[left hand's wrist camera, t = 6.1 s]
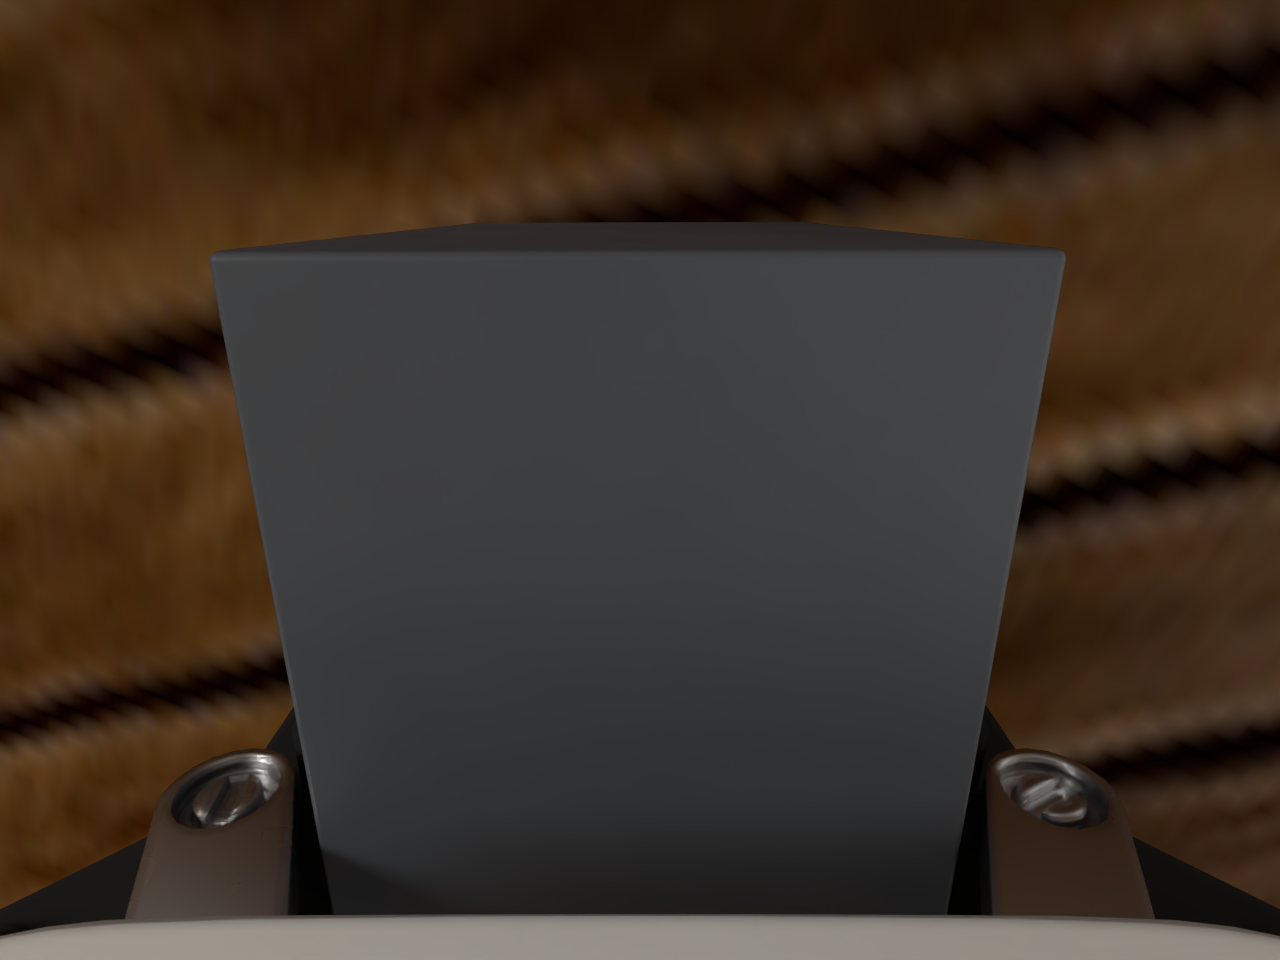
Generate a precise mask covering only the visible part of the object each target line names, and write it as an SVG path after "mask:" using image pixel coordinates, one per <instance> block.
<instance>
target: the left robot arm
mask: <svg viewBox="0 0 1280 960" xmlns="http://www.w3.org/2000/svg"><path fill="white" fill-rule="evenodd" d="M0 960H1280V909H1278V908H1276V907H1274V906H1272V905H1270V904H1268V903H1266V902H1264V901H1262V900H1260V899H1258V898H1256V897H1254V896H1252V895H1250V894H1248V893H1246V892H1244V891H1241V890H1239V889H1237V888H1235V887H1233V886H1231V885H1229V884H1227V883H1225V882H1223V881H1221V880H1219V879H1217V878H1215V877H1213V876H1211V875H1209V874H1207V873H1205V872H1203V871H1201V870H1199V869H1197V868H1195V867H1193V866H1191V865H1189V864H1187V863H1185V862H1183V861H1181V860H1179V859H1177V858H1175V857H1173V856H1171V855H1169V854H1166V853H1164V852H1162V851H1160V850H1158V849H1156V848H1154V847H1152V846H1150V845H1148V844H1146V843H1144V842H1142V841H1140V840H1138V839H1136V838H1134V837H1132V834H1131V830H1130V826H1129V823H1128V819H1127V816H1126V812H1125V809H1124V806H1123V804H1122V802H1121V800H1120V798H1119V796H1118V794H1117V793H1116V792H1115V791H1114V790H1113V789H1112V787H1111V786H1110V785H1109V784H1108V783H1107V782H1106V781H1105V780H1104V779H1103V778H1101V777H1100V776H1098V775H1097V774H1096V773H1094V772H1093V771H1091V770H1090V769H1089V768H1087V767H1085V766H1083V765H1081V764H1079V763H1077V762H1075V761H1073V760H1071V759H1069V758H1067V757H1064V756H1061V755H1057V754H1054V753H1051V752H1048V751H1042V750H1035V749H1027V748H1026V749H1015V748H1014V746H1013V745H1012V743H1011V742H1010V740H1009V739H1008V738H1007V736H1006V735H1005V733H1004V732H1003V730H1002V729H1001V727H1000V726H999V724H998V723H997V721H996V720H995V718H994V717H993V715H992V714H991V712H990V711H989V709H988V708H987V706H986V705H985V709H984V714H983V720H982V725H981V731H980V736H979V742H978V747H977V753H976V758H975V764H974V769H973V775H972V780H971V786H970V791H969V797H968V802H967V808H966V813H965V819H964V824H963V830H962V835H961V841H960V847H959V852H958V858H957V863H956V869H955V874H954V880H953V885H952V891H951V896H950V902H949V907H948V913H947V915H830V914H450V915H333V912H332V907H331V902H330V896H329V891H328V886H327V880H326V875H325V870H324V865H323V859H322V854H321V849H320V843H319V838H318V833H317V828H316V822H315V817H314V812H313V806H312V801H311V796H310V790H309V785H308V780H307V775H306V769H305V764H304V759H303V753H302V748H301V743H300V738H299V732H298V727H297V722H296V716H295V711H294V707H293V709H292V710H291V712H290V713H289V715H288V716H287V718H286V719H285V721H284V722H283V724H282V725H281V727H280V728H279V730H278V731H277V733H276V734H275V736H274V737H273V738H272V740H271V741H270V743H269V744H268V746H267V747H266V749H254V748H253V749H245V750H238V751H232V752H229V753H226V754H223V755H219V756H216V757H213V758H211V759H209V760H207V761H205V762H203V763H201V764H199V765H197V766H195V767H193V768H191V769H190V770H189V771H187V772H186V773H184V774H183V775H182V776H180V777H179V778H177V779H176V780H175V781H174V782H173V783H172V784H171V785H170V786H169V787H168V789H167V790H166V791H165V792H164V793H163V794H162V796H161V798H160V800H159V802H158V804H157V806H156V809H155V812H154V816H153V819H152V823H151V826H150V830H149V834H148V837H146V838H144V839H142V840H140V841H138V842H136V843H134V844H132V845H130V846H128V847H126V848H124V849H122V850H120V851H118V852H116V853H114V854H112V855H110V856H108V857H106V858H104V859H102V860H100V861H98V862H96V863H94V864H92V865H90V866H88V867H86V868H84V869H82V870H79V871H77V872H75V873H73V874H71V875H69V876H67V877H65V878H63V879H61V880H59V881H57V882H55V883H53V884H51V885H49V886H47V887H45V888H43V889H41V890H39V891H37V892H35V893H33V894H31V895H29V896H27V897H25V898H23V899H21V900H19V901H17V902H15V903H13V904H11V905H8V906H6V907H4V908H2V909H0Z"/></svg>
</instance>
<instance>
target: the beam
mask: <svg viewBox="0 0 1280 960" xmlns="http://www.w3.org/2000/svg"><path fill="white" fill-rule="evenodd" d="M1065 262H1066V257H1065V253H1064V251H1062V250H1059V249H1057V248H1049V247H1040V246H1030V245H1020V244H1010V243H1001V242H991V241H981V240H971V239H962V238H952V237H942V236H932V235H923V234H913V233H903V232H894V231H884V230H874V229H864V228H855V227H845V226H835V225H825V224H816V223H806V222H657V223H473V224H464V225H454V226H445V227H436V228H426V229H417V230H408V231H398V232H389V233H380V234H370V235H361V236H352V237H342V238H333V239H324V240H314V241H305V242H296V243H286V244H277V245H268V246H258V247H249V248H240V249H230V250H221V251H217V252H215V253H213V254H212V255H211V256H210V266H211V272H212V277H213V282H214V288H215V293H216V298H217V303H218V309H219V314H220V319H221V325H222V330H223V335H224V341H225V346H226V351H227V356H228V362H229V367H230V372H231V378H232V383H233V388H234V393H235V399H236V404H237V409H238V415H239V420H240V425H241V431H242V436H243V441H244V446H245V452H246V457H247V462H248V468H249V473H250V478H251V483H252V489H253V494H254V499H255V505H256V510H257V515H258V521H259V526H260V531H261V536H262V542H263V547H264V552H265V558H266V563H267V568H268V573H269V579H270V584H271V589H272V595H273V600H274V605H275V611H276V616H277V621H278V626H279V632H280V637H281V642H282V648H283V653H284V658H285V663H286V669H287V674H288V679H289V685H290V690H291V695H292V701H293V706H294V711H295V716H296V722H297V727H298V732H299V738H300V743H301V748H302V753H303V759H304V764H305V769H306V775H307V780H308V785H309V790H310V796H311V801H312V806H313V812H314V817H315V822H316V828H317V833H318V838H319V843H320V849H321V854H322V859H323V865H324V870H325V875H326V880H327V886H328V891H329V896H330V902H331V907H332V912H333V915H450V914H830V915H947V913H948V907H949V902H950V896H951V891H952V885H953V880H954V874H955V869H956V863H957V858H958V852H959V847H960V841H961V835H962V830H963V824H964V819H965V813H966V808H967V802H968V797H969V791H970V786H971V780H972V775H973V769H974V764H975V758H976V753H977V747H978V742H979V736H980V731H981V725H982V720H983V714H984V709H985V703H986V698H987V692H988V686H989V681H990V675H991V670H992V664H993V659H994V653H995V648H996V642H997V637H998V631H999V626H1000V620H1001V615H1002V609H1003V604H1004V598H1005V593H1006V587H1007V582H1008V576H1009V571H1010V565H1011V560H1012V554H1013V549H1014V543H1015V537H1016V532H1017V526H1018V521H1019V515H1020V510H1021V504H1022V499H1023V493H1024V488H1025V482H1026V477H1027V471H1028V466H1029V460H1030V455H1031V449H1032V444H1033V438H1034V433H1035V427H1036V422H1037V416H1038V411H1039V405H1040V399H1041V394H1042V388H1043V383H1044V377H1045V372H1046V366H1047V361H1048V355H1049V350H1050V344H1051V339H1052V333H1053V328H1054V322H1055V317H1056V311H1057V306H1058V300H1059V295H1060V289H1061V284H1062V278H1063V273H1064V267H1065Z"/></svg>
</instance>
